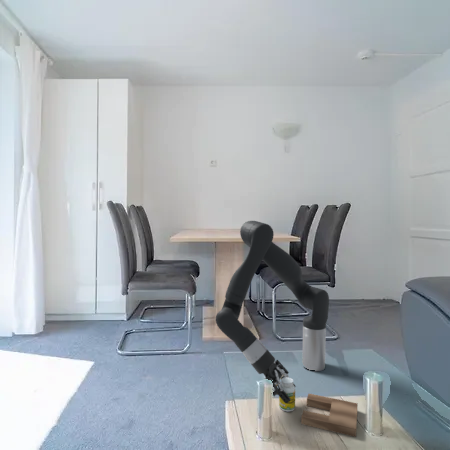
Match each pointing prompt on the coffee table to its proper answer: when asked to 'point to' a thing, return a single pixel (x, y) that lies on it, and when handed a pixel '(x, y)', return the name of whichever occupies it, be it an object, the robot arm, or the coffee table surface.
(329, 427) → the notched board
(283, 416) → the coffee table surface
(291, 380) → the supplement bottle
